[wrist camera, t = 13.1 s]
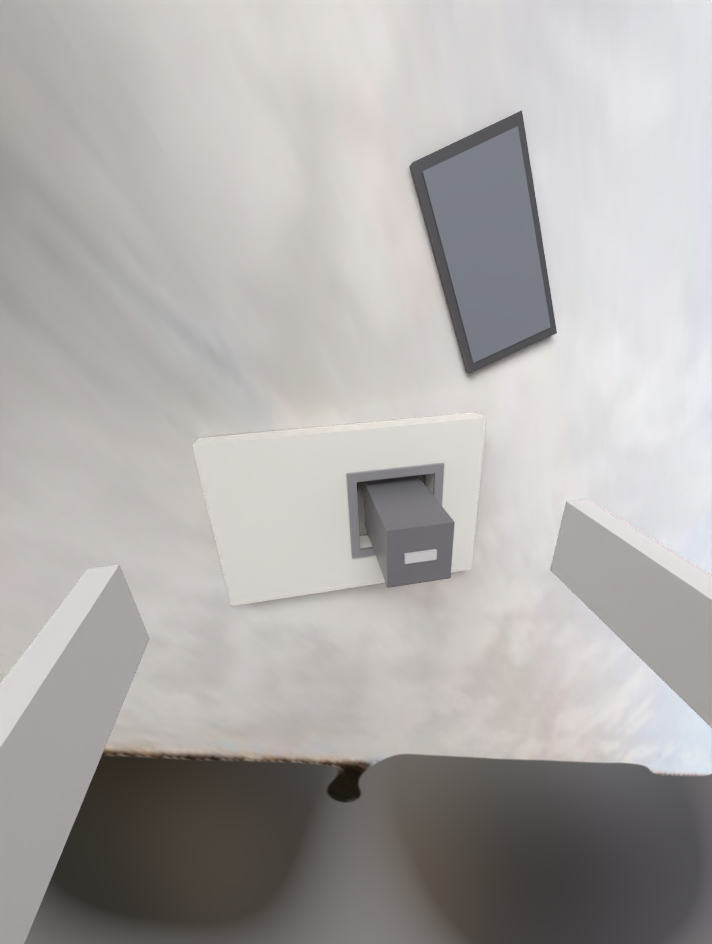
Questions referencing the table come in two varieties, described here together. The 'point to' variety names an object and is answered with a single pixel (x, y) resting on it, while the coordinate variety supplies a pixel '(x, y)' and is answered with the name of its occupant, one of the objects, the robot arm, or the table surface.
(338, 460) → the outlet plate
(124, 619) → the robot arm
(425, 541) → the grey rectangular block
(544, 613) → the table surface
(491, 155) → the phone
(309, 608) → the table surface
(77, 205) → the table surface
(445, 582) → the table surface
